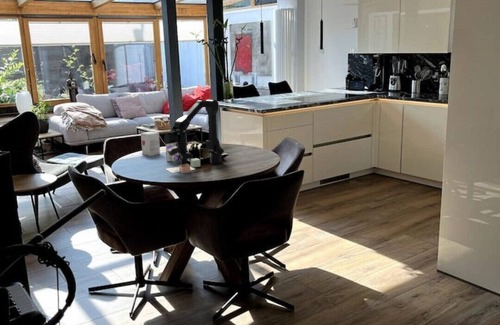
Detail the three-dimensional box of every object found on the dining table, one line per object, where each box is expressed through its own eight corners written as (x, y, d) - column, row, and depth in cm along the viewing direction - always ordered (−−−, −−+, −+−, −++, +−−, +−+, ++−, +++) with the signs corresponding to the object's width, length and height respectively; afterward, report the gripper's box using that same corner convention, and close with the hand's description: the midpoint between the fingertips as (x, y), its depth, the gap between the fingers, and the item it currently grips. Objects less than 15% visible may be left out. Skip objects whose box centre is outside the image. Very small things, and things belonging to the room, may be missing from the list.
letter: (188, 165, 288) (188, 165, 288) (195, 169, 279) (195, 169, 278) (165, 169, 281) (165, 168, 281) (171, 173, 272) (171, 172, 272)
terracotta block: (187, 170, 277) (187, 163, 276) (190, 172, 272) (190, 165, 271) (179, 171, 274) (179, 164, 273) (182, 173, 270) (182, 166, 269)
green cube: (197, 165, 289) (197, 158, 288) (200, 166, 285) (200, 159, 284) (190, 166, 287) (190, 159, 286) (193, 167, 283) (193, 160, 282)
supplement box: (141, 154, 323) (140, 132, 319) (152, 152, 330) (150, 131, 326) (150, 156, 317) (148, 134, 314) (160, 153, 324) (159, 132, 320)
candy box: (175, 162, 299) (173, 136, 295) (166, 161, 300) (164, 136, 296) (182, 157, 312) (181, 132, 308) (174, 157, 313) (172, 132, 309)
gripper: (163, 140, 277) (164, 166, 281) (173, 145, 261) (175, 172, 265) (181, 138, 282) (182, 163, 286) (192, 143, 266) (193, 170, 270)
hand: (182, 167), depth 277 cm, fingers closed
